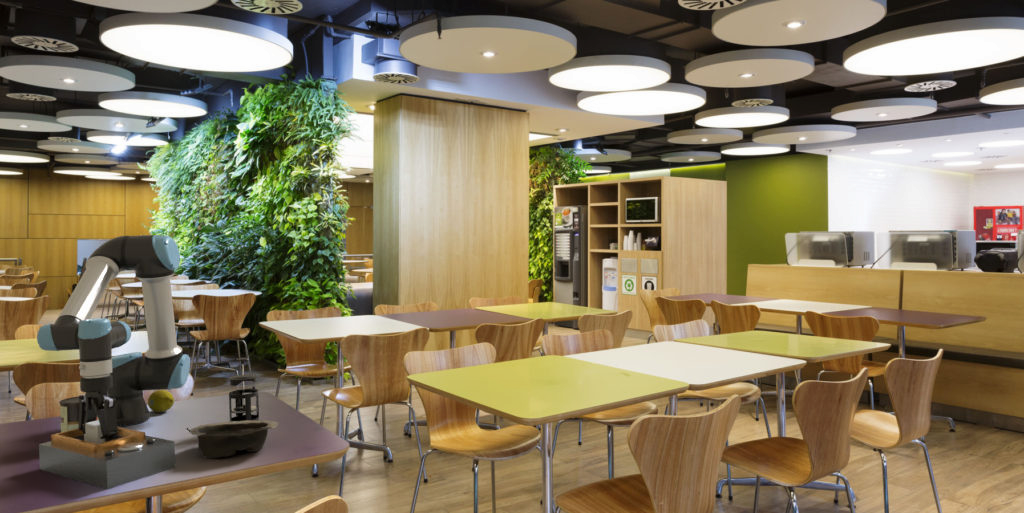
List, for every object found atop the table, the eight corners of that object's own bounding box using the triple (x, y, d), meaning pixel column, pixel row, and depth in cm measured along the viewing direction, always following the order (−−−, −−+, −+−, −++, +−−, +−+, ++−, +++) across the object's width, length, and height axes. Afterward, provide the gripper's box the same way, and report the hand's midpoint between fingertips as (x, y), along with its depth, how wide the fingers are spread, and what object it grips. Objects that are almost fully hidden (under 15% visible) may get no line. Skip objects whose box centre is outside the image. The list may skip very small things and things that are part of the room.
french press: (264, 428, 216) (262, 358, 216) (234, 434, 210) (232, 362, 210) (253, 421, 226) (251, 354, 225) (224, 426, 220) (222, 357, 219)
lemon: (143, 412, 242) (143, 390, 242) (165, 407, 248) (165, 386, 248) (156, 416, 235) (156, 394, 235) (179, 412, 241) (178, 390, 241)
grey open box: (39, 469, 180) (38, 436, 179) (107, 451, 195) (106, 420, 195) (107, 489, 164) (106, 452, 164) (175, 467, 180) (174, 434, 179)
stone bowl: (198, 469, 177) (196, 434, 177) (181, 453, 197) (179, 422, 198) (291, 449, 192) (289, 417, 192) (266, 436, 212) (264, 407, 212)
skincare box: (85, 466, 181) (84, 422, 181) (101, 461, 185) (100, 419, 184) (97, 470, 178) (97, 426, 178) (113, 465, 182) (113, 422, 182)
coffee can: (109, 440, 206) (107, 395, 206) (81, 450, 196) (80, 403, 196) (81, 439, 208) (79, 394, 208) (52, 449, 198) (50, 402, 198)
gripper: (61, 375, 183) (64, 457, 183) (103, 381, 173) (106, 468, 173) (89, 370, 189) (92, 449, 190) (131, 375, 179) (134, 459, 180)
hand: (99, 458), depth 182 cm, fingers open, 7 cm apart
